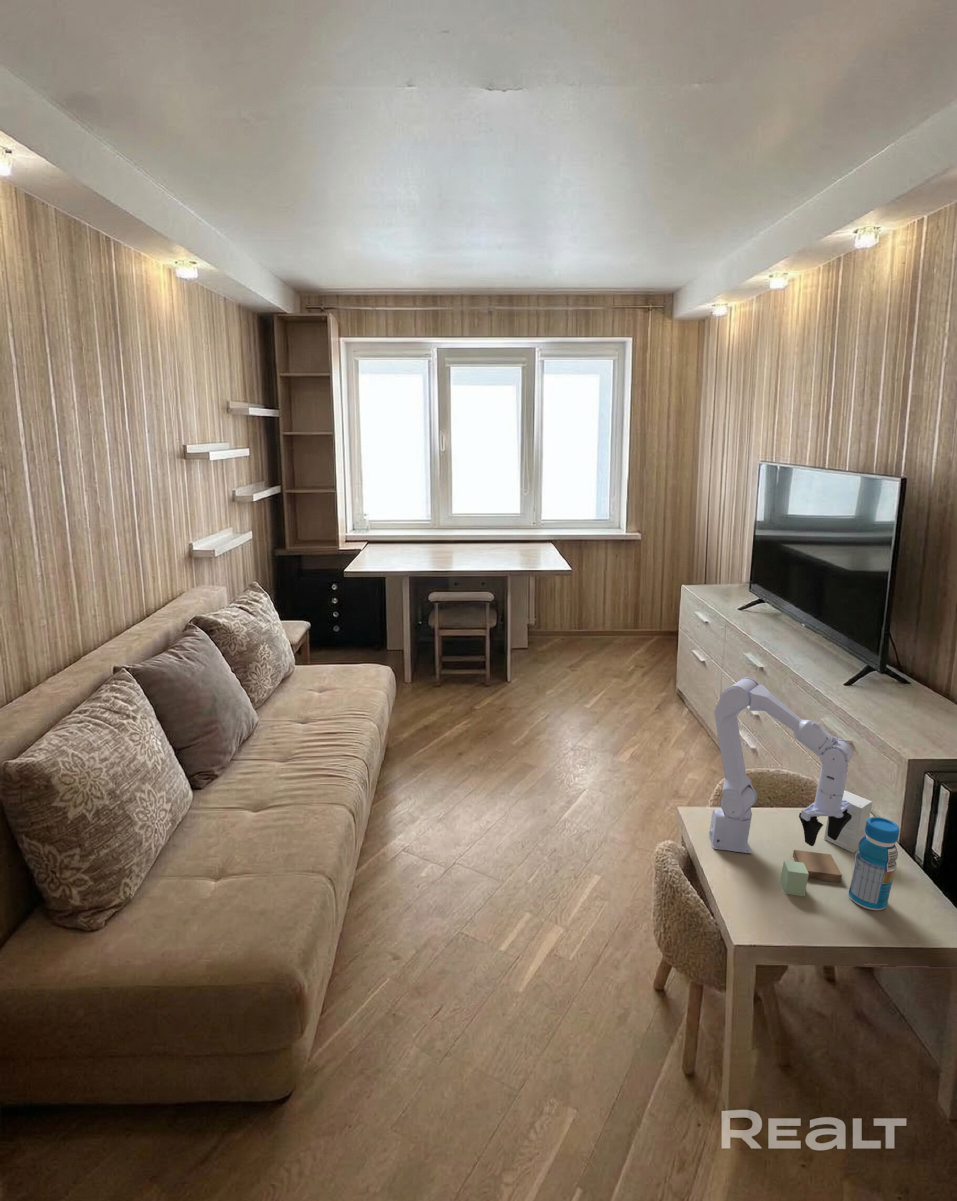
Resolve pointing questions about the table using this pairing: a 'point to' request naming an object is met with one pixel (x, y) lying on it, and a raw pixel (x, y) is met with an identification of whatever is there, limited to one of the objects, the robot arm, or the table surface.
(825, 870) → the plinth
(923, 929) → the table surface
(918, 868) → the table surface
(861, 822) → the small box
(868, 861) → the beverage bottle
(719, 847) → the robot arm
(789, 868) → the block
